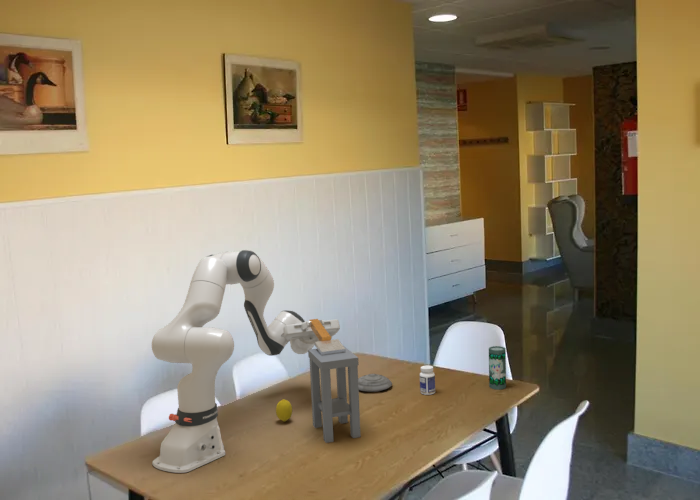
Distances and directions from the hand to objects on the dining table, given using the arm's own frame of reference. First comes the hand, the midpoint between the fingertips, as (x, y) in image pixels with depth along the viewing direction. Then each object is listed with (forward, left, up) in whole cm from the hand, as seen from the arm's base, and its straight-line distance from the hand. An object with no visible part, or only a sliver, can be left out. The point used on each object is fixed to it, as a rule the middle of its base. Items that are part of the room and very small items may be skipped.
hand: (315, 322), depth 232 cm
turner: (-6, -7, -4) cm, 10 cm away
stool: (-14, -15, -32) cm, 38 cm away
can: (+47, -50, -32) cm, 76 cm away
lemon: (-14, +6, -32) cm, 35 cm away
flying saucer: (+29, -6, -32) cm, 44 cm away
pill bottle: (+31, -28, -32) cm, 53 cm away
